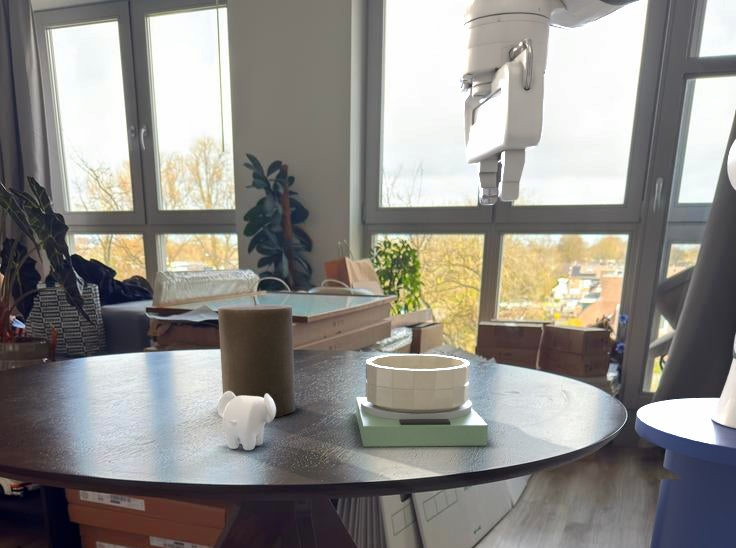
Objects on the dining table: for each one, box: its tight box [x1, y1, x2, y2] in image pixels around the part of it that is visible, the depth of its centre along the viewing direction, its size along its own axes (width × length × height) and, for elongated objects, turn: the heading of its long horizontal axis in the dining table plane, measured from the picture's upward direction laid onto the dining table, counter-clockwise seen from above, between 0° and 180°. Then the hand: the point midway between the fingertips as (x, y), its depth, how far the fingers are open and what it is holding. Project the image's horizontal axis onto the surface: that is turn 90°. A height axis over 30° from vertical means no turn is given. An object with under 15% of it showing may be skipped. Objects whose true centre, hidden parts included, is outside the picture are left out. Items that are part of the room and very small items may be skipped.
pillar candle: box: [217, 295, 296, 418], centre depth 96 cm, size 10×10×15 cm
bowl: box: [365, 353, 471, 413], centre depth 87 cm, size 12×12×5 cm
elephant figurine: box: [216, 391, 276, 451], centre depth 80 cm, size 7×8×6 cm
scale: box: [355, 396, 489, 448], centre depth 88 cm, size 14×16×3 cm
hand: (497, 203), depth 80 cm, fingers open, 8 cm apart
